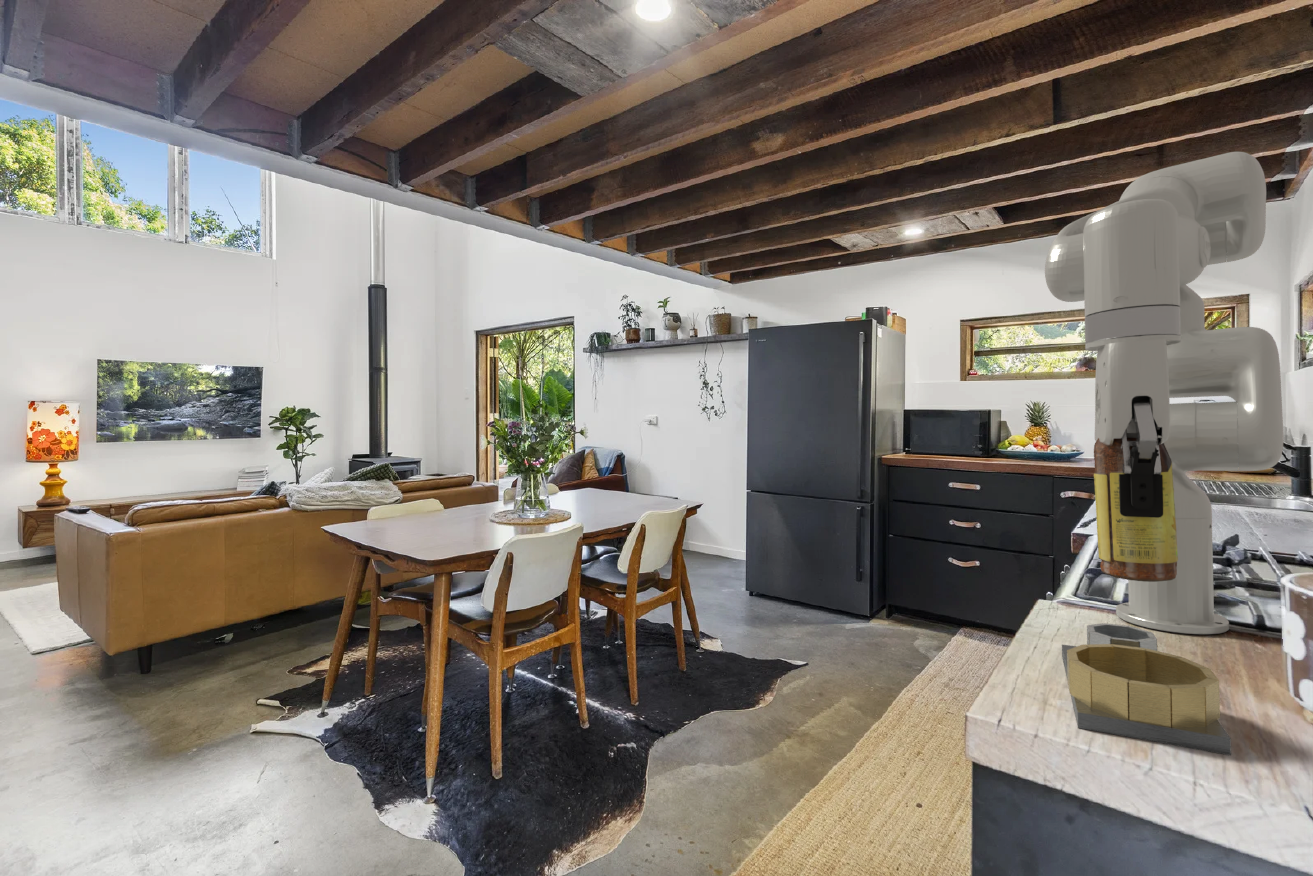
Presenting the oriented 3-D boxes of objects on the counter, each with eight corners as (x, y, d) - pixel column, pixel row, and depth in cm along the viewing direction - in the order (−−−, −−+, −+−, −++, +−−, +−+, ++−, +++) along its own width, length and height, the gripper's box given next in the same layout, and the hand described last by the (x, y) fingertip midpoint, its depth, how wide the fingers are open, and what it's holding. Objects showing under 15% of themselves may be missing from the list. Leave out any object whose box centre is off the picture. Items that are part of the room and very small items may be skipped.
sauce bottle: (1195, 581, 59) (1191, 373, 58) (1142, 586, 57) (1138, 374, 57) (1129, 567, 65) (1125, 379, 65) (1080, 571, 64) (1076, 380, 64)
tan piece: (1059, 656, 77) (1058, 616, 77) (1178, 672, 71) (1177, 629, 71) (1074, 727, 59) (1073, 675, 59) (1235, 756, 53) (1234, 698, 53)
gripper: (1077, 345, 70) (1080, 501, 71) (1095, 323, 55) (1099, 522, 56) (1160, 338, 67) (1164, 504, 67) (1204, 313, 52) (1208, 526, 52)
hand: (1134, 510), depth 61 cm, fingers closed on sauce bottle, 6 cm apart
